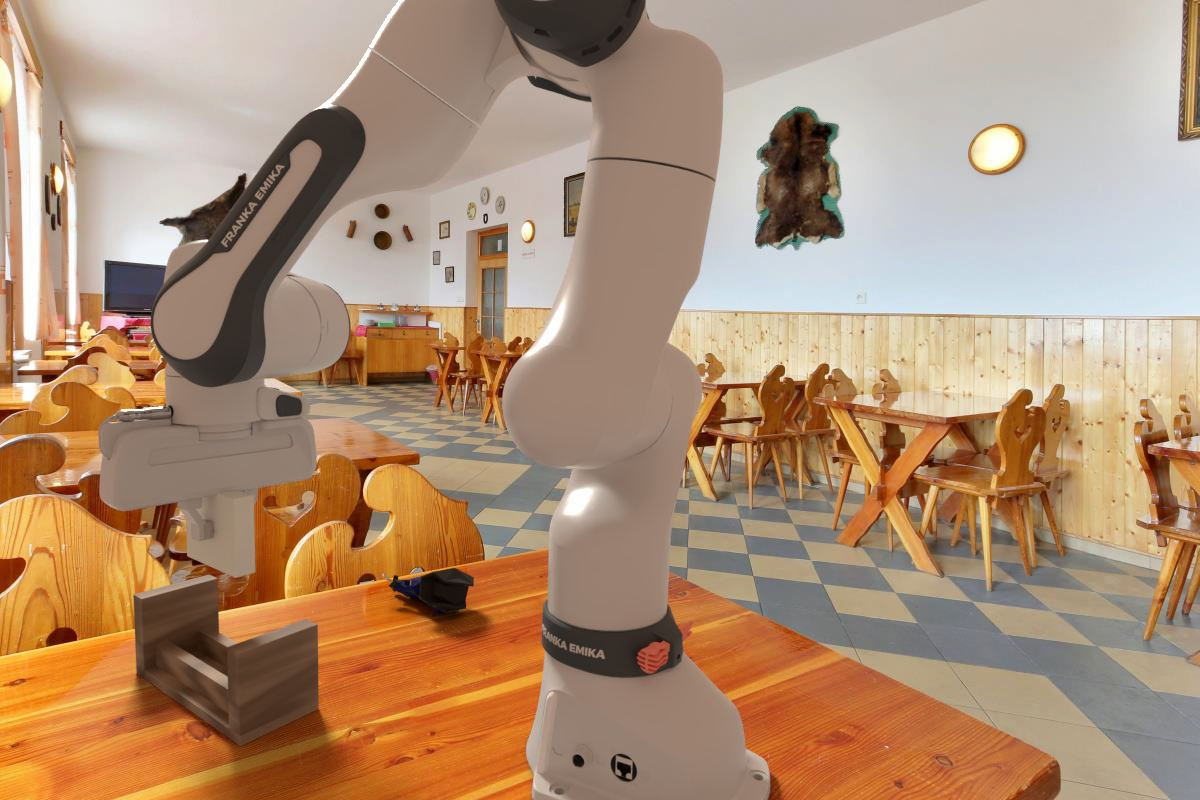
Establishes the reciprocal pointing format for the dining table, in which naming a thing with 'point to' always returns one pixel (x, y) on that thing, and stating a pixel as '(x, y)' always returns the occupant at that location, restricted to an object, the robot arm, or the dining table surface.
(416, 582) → the toy
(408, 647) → the dining table surface
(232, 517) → the door panel
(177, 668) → the wooden rack
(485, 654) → the dining table surface
